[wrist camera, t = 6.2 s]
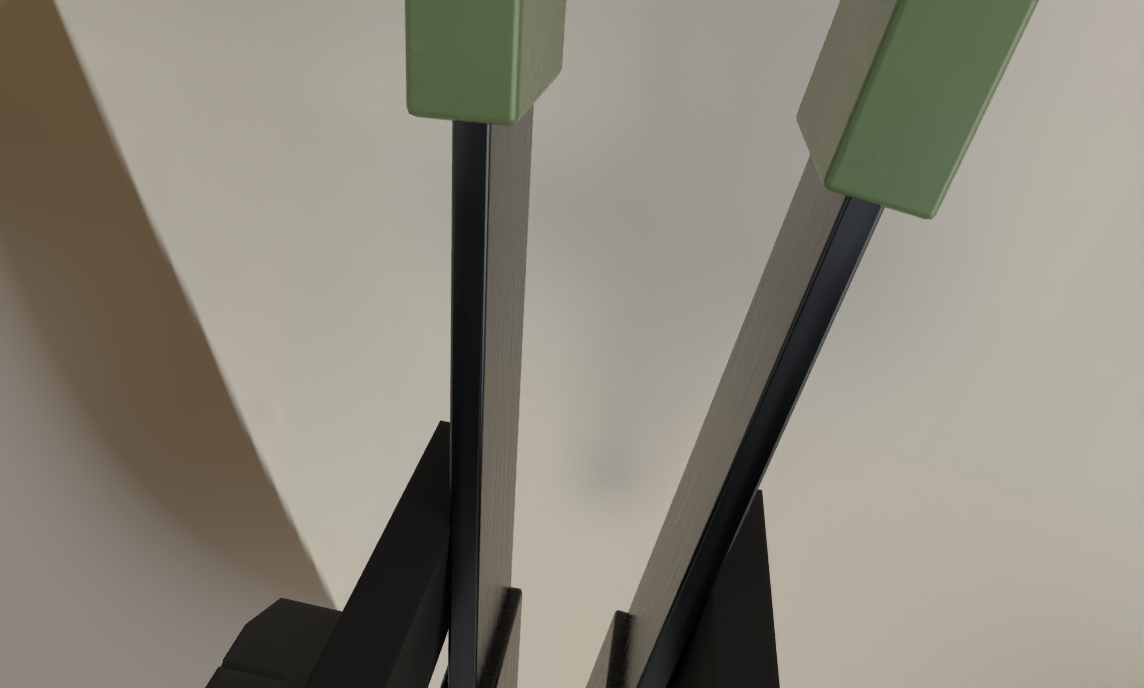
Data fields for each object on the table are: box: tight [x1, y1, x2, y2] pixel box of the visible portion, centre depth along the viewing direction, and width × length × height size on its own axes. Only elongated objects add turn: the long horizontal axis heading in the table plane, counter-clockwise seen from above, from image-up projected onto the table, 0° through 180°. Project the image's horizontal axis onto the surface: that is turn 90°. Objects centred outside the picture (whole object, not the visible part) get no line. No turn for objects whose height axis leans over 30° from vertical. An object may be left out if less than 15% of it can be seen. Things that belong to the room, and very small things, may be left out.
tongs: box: [405, 0, 1039, 688], centre depth 13 cm, size 19×6×3 cm, turn 171°
